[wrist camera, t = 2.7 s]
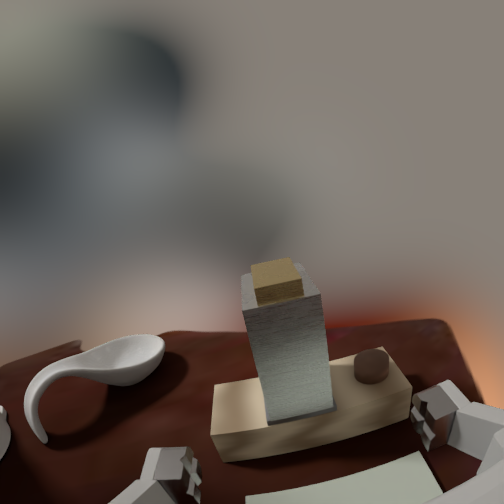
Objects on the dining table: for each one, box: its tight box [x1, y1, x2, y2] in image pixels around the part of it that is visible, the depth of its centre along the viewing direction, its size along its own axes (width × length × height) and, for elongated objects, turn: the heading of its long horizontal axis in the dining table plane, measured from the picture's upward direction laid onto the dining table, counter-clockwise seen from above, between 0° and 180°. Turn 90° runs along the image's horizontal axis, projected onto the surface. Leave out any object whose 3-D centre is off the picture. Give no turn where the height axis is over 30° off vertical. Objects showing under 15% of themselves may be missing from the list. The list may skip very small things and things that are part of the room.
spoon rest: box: [24, 334, 165, 444], centre depth 35 cm, size 24×12×7 cm, turn 149°
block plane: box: [211, 347, 412, 463], centre depth 26 cm, size 17×7×6 cm, turn 92°
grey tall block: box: [241, 257, 333, 421], centre depth 24 cm, size 5×7×11 cm
